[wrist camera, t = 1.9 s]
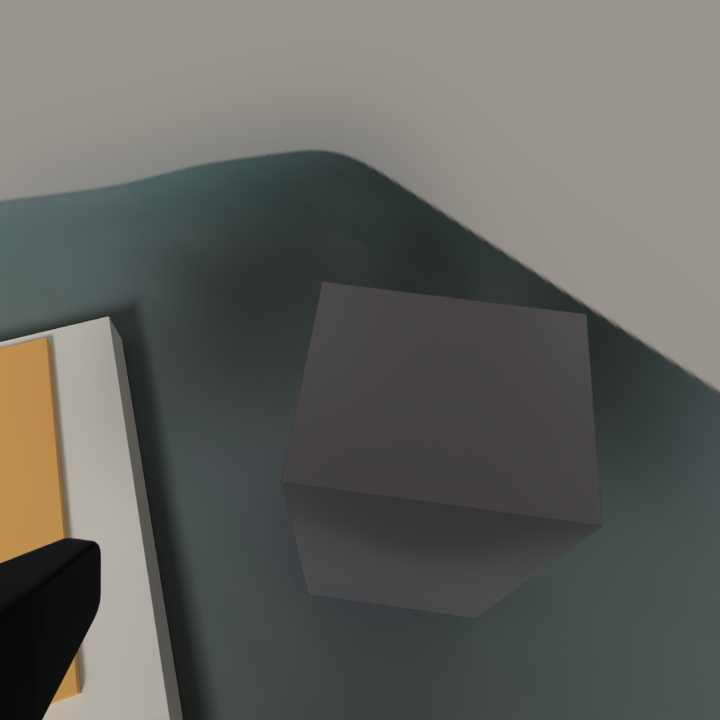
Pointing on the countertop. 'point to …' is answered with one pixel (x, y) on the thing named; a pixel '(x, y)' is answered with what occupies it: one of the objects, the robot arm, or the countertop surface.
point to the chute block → (439, 448)
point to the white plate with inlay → (87, 511)
